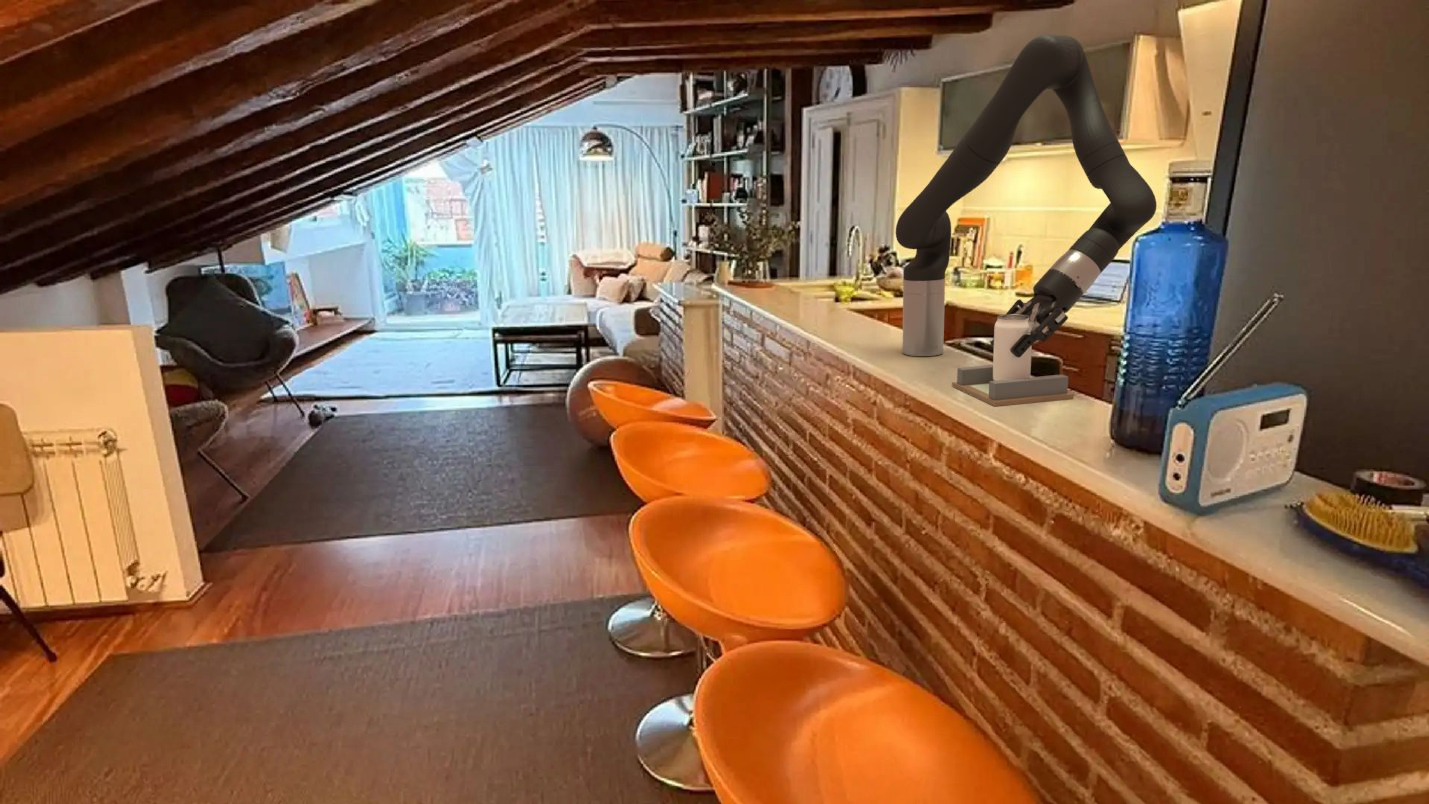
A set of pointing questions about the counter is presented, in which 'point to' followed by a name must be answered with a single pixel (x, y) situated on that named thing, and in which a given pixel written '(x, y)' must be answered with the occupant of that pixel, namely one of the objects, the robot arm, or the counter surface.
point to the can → (1004, 339)
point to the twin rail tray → (1010, 387)
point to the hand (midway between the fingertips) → (1004, 350)
